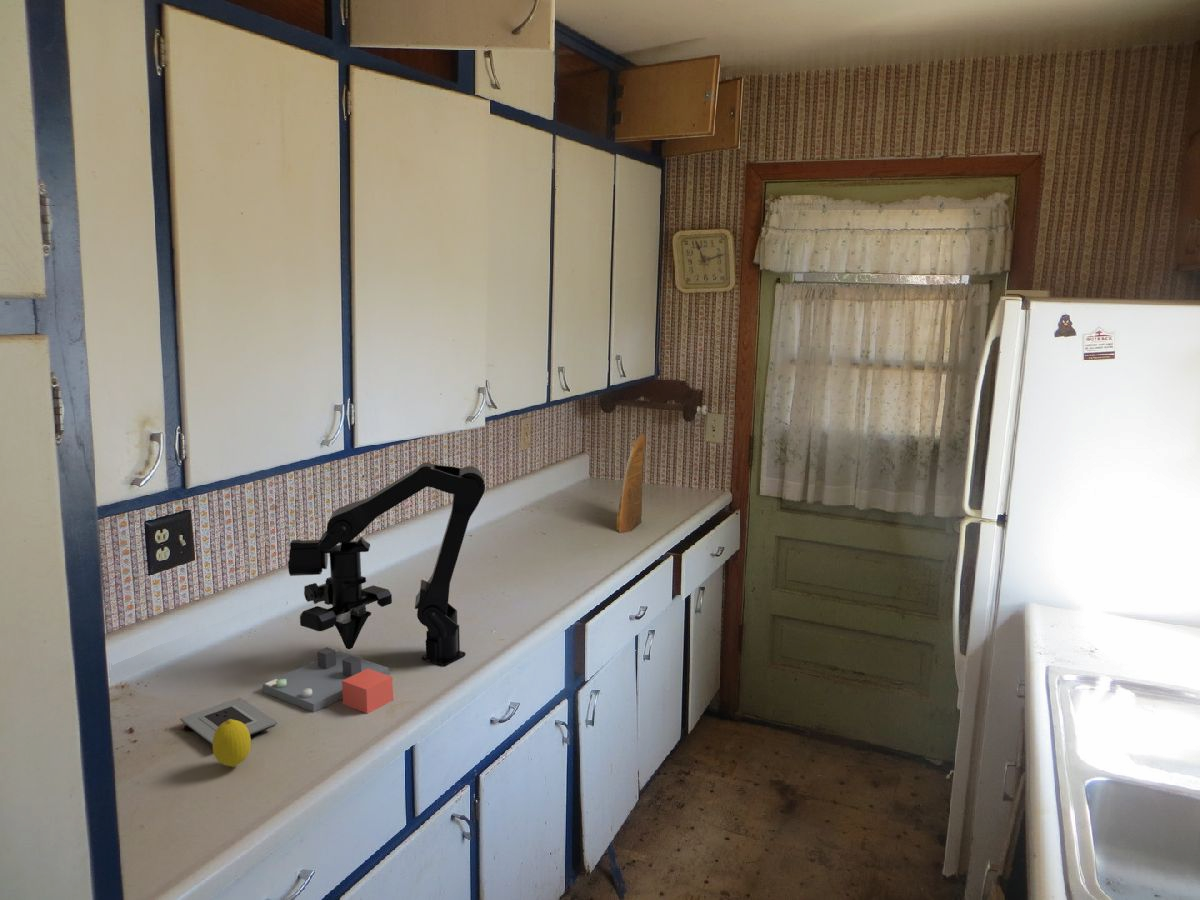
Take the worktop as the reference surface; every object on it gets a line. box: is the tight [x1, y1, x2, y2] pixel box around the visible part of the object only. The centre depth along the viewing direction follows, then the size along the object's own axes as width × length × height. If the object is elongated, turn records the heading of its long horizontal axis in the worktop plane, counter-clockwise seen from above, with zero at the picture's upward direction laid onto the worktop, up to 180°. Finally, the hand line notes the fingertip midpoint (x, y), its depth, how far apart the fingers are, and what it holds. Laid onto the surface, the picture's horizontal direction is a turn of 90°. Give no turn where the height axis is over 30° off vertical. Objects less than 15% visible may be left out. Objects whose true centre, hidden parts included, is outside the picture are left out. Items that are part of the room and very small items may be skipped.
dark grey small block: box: [342, 655, 362, 677], centre depth 171 cm, size 2×2×3 cm
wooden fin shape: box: [616, 432, 646, 533], centre depth 276 cm, size 7×19×28 cm, turn 160°
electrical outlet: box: [179, 697, 278, 746], centre depth 154 cm, size 13×10×2 cm
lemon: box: [212, 719, 252, 768], centre depth 142 cm, size 6×6×8 cm
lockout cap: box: [342, 669, 394, 714], centre depth 164 cm, size 6×6×4 cm
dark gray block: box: [316, 646, 337, 669], centre depth 175 cm, size 2×2×3 cm
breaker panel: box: [262, 650, 390, 713], centre depth 171 cm, size 18×14×2 cm
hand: (349, 648), depth 180 cm, fingers closed
